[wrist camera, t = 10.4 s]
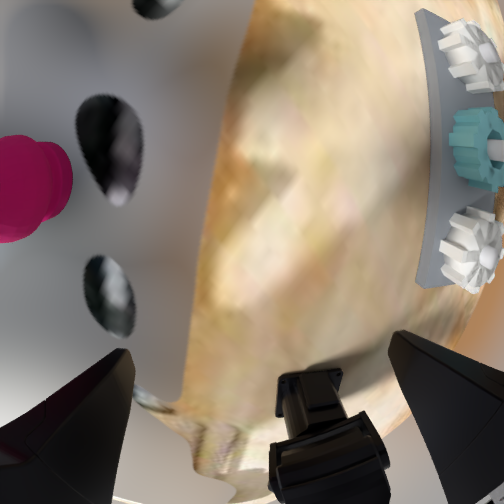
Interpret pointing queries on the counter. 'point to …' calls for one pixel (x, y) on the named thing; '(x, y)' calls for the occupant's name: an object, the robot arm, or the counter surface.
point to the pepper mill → (31, 185)
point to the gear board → (442, 160)
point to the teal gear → (477, 147)
